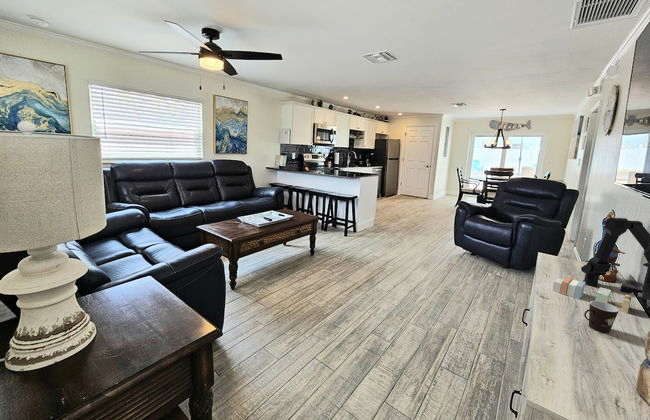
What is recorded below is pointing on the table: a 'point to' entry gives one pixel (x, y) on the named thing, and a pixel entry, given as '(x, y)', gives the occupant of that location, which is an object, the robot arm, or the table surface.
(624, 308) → the bookend
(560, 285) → the book row
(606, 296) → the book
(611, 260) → the music box
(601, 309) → the coffee mug
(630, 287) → the robot arm
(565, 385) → the table surface
